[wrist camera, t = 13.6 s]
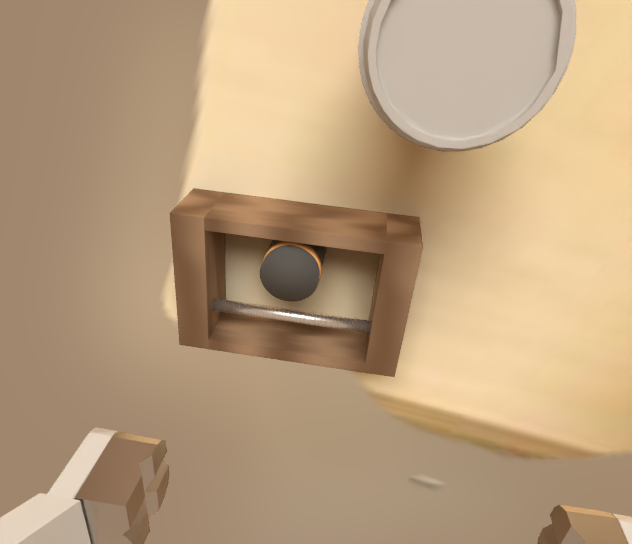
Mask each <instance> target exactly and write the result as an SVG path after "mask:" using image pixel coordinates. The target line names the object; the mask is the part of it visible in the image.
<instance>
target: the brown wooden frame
mask: <svg viewBox="0 0 632 544" xmlns="http://www.w3.org/2000/svg"><path fill="white" fill-rule="evenodd" d="M170 223H171V236H172V249H173V263H174V276H175V289H176V302H177V316H178V329H179V342H180V345H185V346H192V347H198V348H205V349H212V350H218V351H225V352H232V353H238V354H245V355H251V356H258V357H265V358H271V359H278V360H284V361H292V362H298V363H304V364H312V365H318V366H325V367H331V368H337V369H344V370H351V371H357V372H364V373H371V374H377V375H384V376H390V377H395V372H396V368H397V363H398V358H399V354H400V349H401V345H402V340H403V336H404V331H405V326H406V322H407V317H408V313H409V308H410V303H411V299H412V294H413V290H414V285H415V280H416V276H417V271H418V267H419V262H420V258H421V253H422V248H423V243H422V236H421V228H420V220H419V217H412V216H404V215H397V214H389V213H381V212H373V211H365V210H357V209H350V208H342V207H334V206H326V205H318V204H310V203H303V202H295V201H287V200H279V199H271V198H263V197H256V196H248V195H240V194H232V193H224V192H216V191H209V190H201V189H193V190H192V191H191V192H190V193H189V194H188V195H187V196H186V197H185V198H184V199H183V200H182V201H181V202H180V203H179V204H178V205H177V206H176V207H175V208H174V209H173V210H172V211H171V212H170ZM225 233H228V234H235V235H243V236H250V237H258V238H265V239H273V240H280V241H288V242H295V243H303V244H310V245H318V246H325V247H333V248H340V249H348V250H355V251H363V252H370V253H378V254H380V257H379V263H378V269H377V275H376V281H375V287H374V293H373V299H372V305H371V311H370V316H369V321H371V329H370V333H363V332H356V331H349V330H342V329H336V328H329V327H322V326H315V325H308V324H301V323H294V322H287V321H280V320H274V319H267V318H260V317H253V316H246V315H239V314H232V313H225V312H219V311H212V309H211V305H212V301H213V299H221V300H226V286H225Z"/></svg>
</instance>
